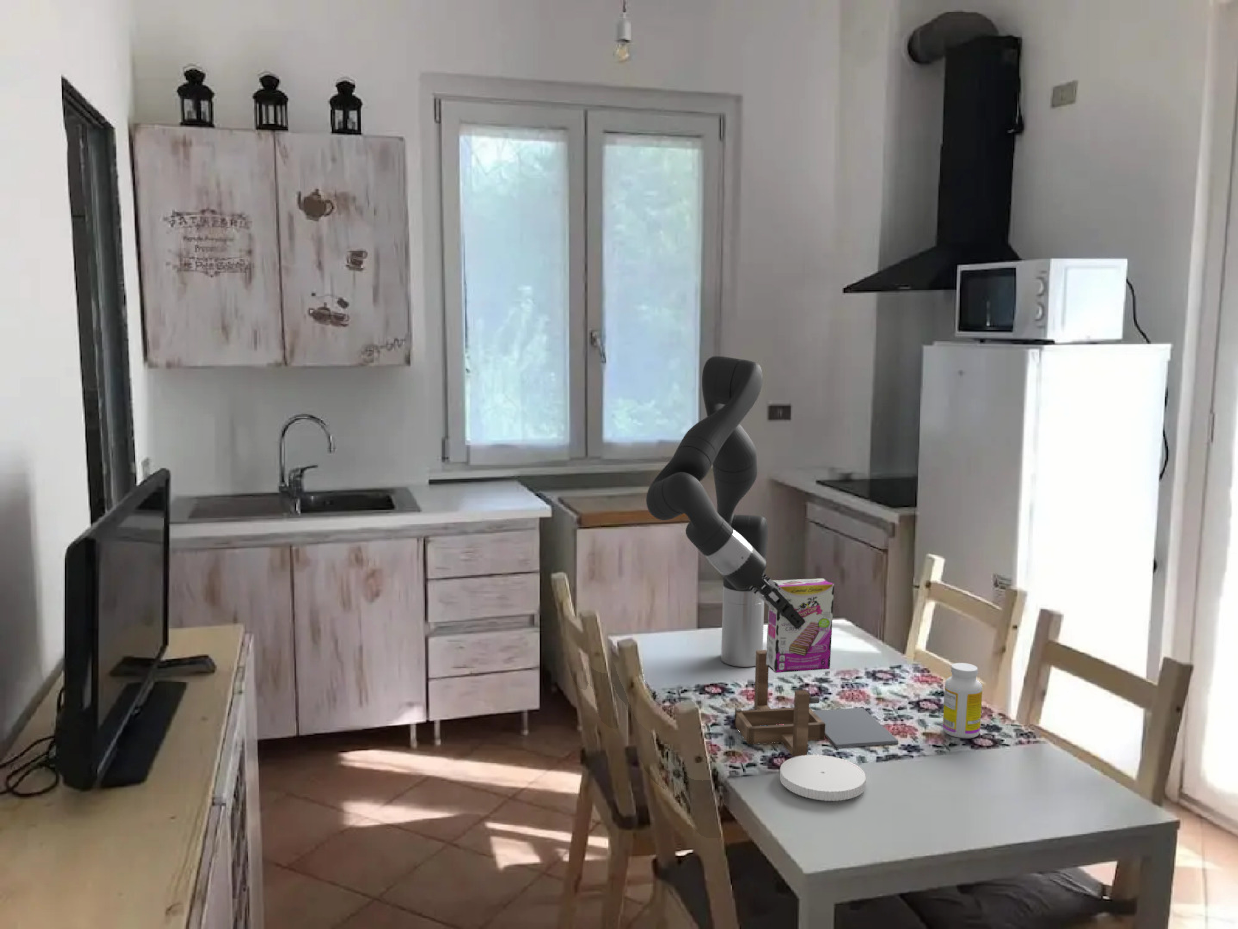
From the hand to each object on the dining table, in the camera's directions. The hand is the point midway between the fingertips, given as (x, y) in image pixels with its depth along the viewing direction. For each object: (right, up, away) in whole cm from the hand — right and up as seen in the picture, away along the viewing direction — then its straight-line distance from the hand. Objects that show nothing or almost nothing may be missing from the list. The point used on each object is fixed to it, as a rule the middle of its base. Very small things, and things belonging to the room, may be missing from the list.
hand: (795, 620), depth 191 cm
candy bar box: (+1, -9, +1) cm, 9 cm away
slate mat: (+11, -21, +5) cm, 24 cm away
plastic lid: (+1, -25, -19) cm, 31 cm away
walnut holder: (-3, -21, +3) cm, 22 cm away
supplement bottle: (+32, -22, +4) cm, 39 cm away
